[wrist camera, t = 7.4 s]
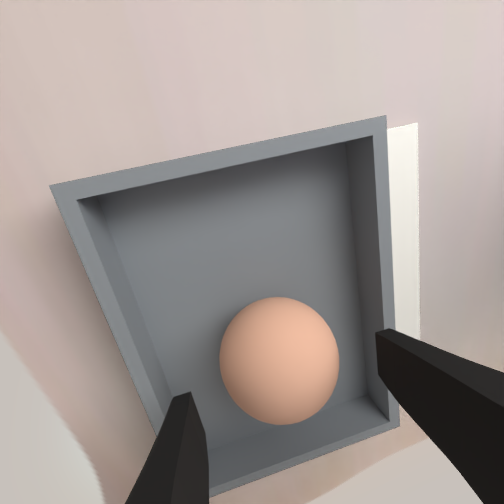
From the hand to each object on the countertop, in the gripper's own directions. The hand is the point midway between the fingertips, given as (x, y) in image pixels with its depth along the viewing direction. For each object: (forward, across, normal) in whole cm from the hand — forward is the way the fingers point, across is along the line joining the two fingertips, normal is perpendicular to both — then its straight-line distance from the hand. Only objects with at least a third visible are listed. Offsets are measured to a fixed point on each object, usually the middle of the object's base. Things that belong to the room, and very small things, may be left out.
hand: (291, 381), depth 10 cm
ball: (+2, 0, 0) cm, 2 cm away
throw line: (+5, -8, 0) cm, 10 cm away
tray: (+5, 0, 0) cm, 5 cm away
